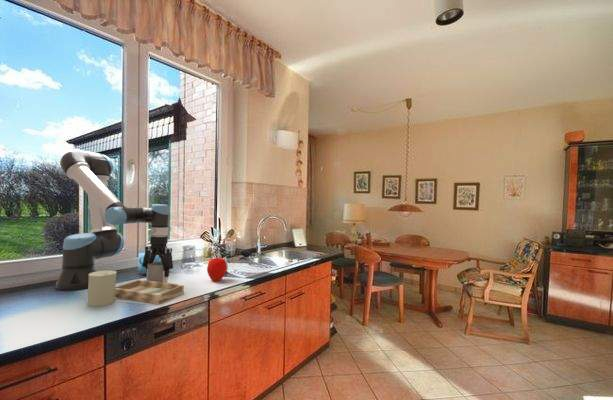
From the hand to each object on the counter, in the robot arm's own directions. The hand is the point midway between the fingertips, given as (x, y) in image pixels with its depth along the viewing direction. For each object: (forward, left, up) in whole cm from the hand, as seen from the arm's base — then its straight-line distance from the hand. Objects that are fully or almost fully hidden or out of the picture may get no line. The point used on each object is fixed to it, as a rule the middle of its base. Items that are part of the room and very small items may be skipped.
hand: (156, 282), depth 140 cm
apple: (+22, +17, -1) cm, 28 cm away
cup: (0, 0, -1) cm, 1 cm away
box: (+8, -14, -1) cm, 16 cm away
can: (-1, -28, -1) cm, 28 cm away
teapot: (-13, +14, -1) cm, 19 cm away
